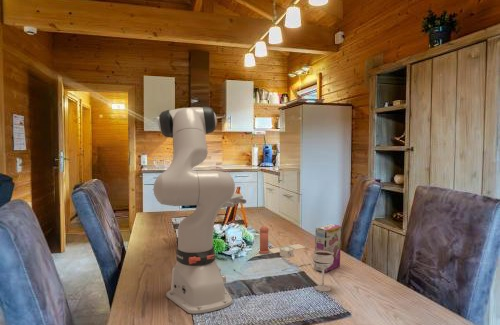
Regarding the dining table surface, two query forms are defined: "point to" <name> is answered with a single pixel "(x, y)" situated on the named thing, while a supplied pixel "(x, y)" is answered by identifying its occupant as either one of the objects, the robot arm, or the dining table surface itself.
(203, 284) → the robot arm
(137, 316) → the dining table surface
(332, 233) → the candy bar box
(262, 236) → the pawn
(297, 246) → the track board
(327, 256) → the wineglass
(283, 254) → the die
